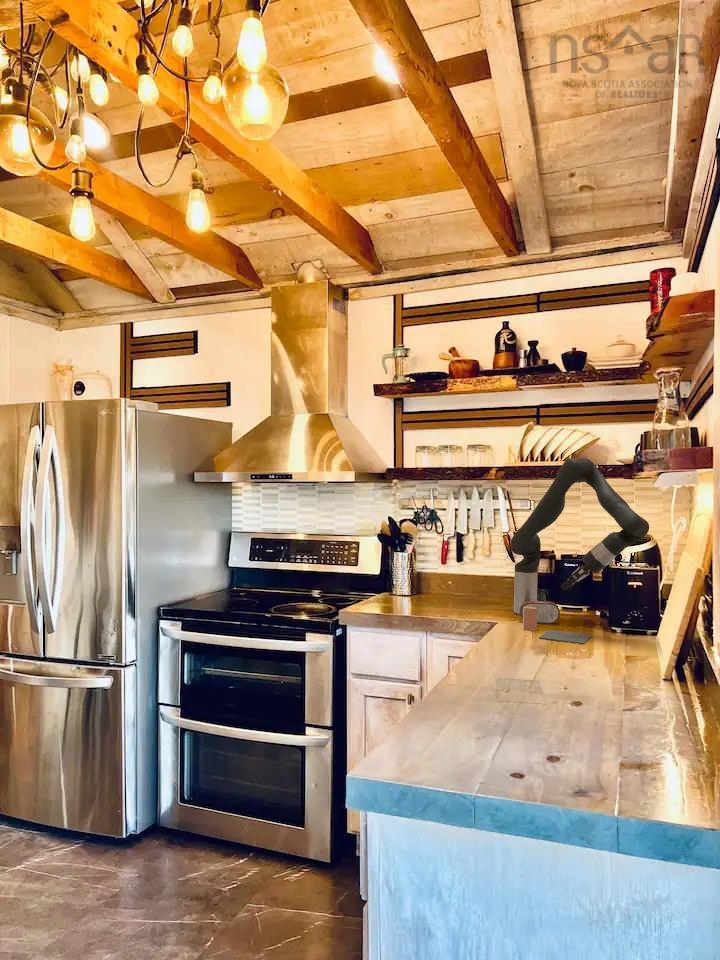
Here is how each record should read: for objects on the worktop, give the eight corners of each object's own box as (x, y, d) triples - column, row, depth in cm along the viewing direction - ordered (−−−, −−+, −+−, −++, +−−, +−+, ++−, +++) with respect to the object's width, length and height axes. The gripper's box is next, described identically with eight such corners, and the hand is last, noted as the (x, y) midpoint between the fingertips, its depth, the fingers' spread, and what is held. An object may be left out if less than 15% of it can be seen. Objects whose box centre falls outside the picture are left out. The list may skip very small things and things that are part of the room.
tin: (558, 623, 264) (559, 601, 264) (560, 624, 261) (561, 602, 261) (519, 621, 266) (519, 599, 266) (520, 623, 262) (520, 601, 262)
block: (525, 628, 253) (525, 606, 253) (536, 629, 251) (537, 607, 251) (522, 629, 251) (523, 607, 251) (534, 631, 249) (535, 609, 249)
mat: (548, 631, 249) (548, 629, 249) (591, 636, 242) (591, 635, 242) (539, 638, 236) (539, 637, 236) (583, 644, 229) (584, 643, 229)
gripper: (595, 547, 247) (562, 576, 253) (587, 550, 235) (553, 581, 240) (610, 563, 245) (576, 592, 250) (603, 567, 232) (568, 597, 238)
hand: (565, 587), depth 245 cm, fingers open, 8 cm apart
